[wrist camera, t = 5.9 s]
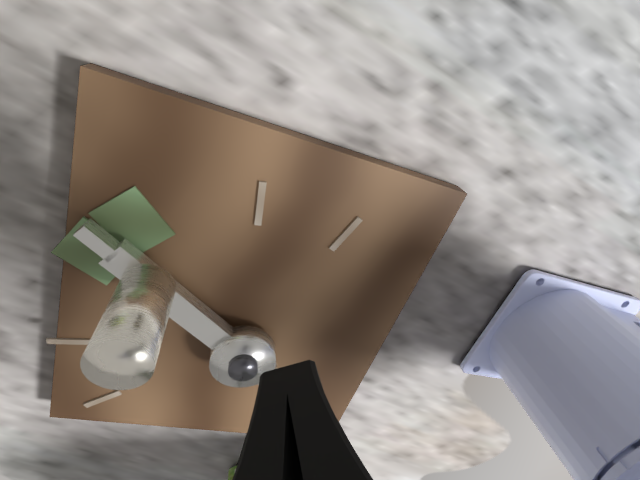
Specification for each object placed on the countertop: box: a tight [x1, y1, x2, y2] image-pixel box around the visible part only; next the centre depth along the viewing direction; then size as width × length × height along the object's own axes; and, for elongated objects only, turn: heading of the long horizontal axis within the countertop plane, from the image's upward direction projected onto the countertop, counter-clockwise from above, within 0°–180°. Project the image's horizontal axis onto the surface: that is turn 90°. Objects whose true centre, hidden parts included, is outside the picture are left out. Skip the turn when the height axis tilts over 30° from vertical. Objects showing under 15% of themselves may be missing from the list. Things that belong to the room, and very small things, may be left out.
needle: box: [73, 218, 277, 390], centre depth 16 cm, size 11×3×5 cm, turn 35°
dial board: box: [46, 63, 467, 433], centre depth 19 cm, size 16×18×1 cm
